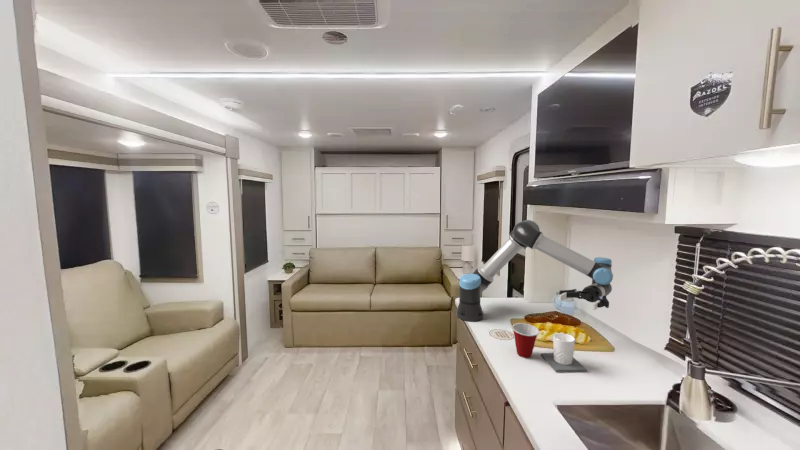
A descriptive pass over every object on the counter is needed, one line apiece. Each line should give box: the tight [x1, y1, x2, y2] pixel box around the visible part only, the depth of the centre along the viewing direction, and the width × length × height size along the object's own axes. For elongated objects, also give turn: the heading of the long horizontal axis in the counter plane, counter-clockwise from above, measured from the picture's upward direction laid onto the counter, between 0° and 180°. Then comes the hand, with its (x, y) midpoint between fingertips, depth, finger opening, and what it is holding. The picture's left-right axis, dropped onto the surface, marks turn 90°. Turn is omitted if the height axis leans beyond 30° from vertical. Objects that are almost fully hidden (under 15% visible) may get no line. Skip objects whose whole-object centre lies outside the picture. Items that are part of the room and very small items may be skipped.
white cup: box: [552, 332, 576, 365], centre depth 127 cm, size 8×8×10 cm
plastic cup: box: [511, 322, 540, 359], centre depth 134 cm, size 11×11×12 cm
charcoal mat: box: [540, 352, 588, 373], centre depth 128 cm, size 13×12×1 cm
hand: (575, 302), depth 135 cm, fingers open, 13 cm apart
